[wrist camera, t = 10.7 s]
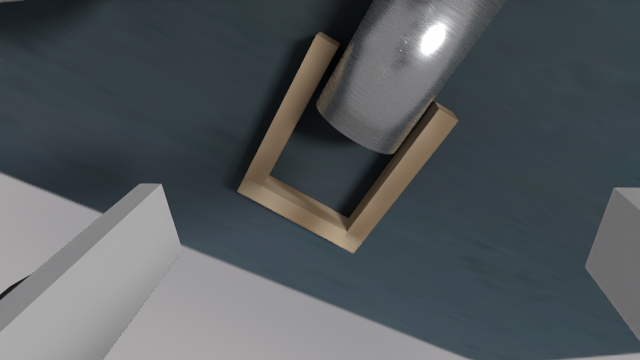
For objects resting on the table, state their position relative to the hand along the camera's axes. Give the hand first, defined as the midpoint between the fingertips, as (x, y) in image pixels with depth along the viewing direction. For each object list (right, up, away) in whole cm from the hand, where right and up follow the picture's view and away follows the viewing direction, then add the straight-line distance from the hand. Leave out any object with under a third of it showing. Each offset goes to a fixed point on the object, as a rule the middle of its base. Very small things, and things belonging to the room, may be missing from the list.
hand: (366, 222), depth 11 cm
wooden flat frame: (0, +4, +16) cm, 16 cm away
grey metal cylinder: (+4, +10, +13) cm, 16 cm away
